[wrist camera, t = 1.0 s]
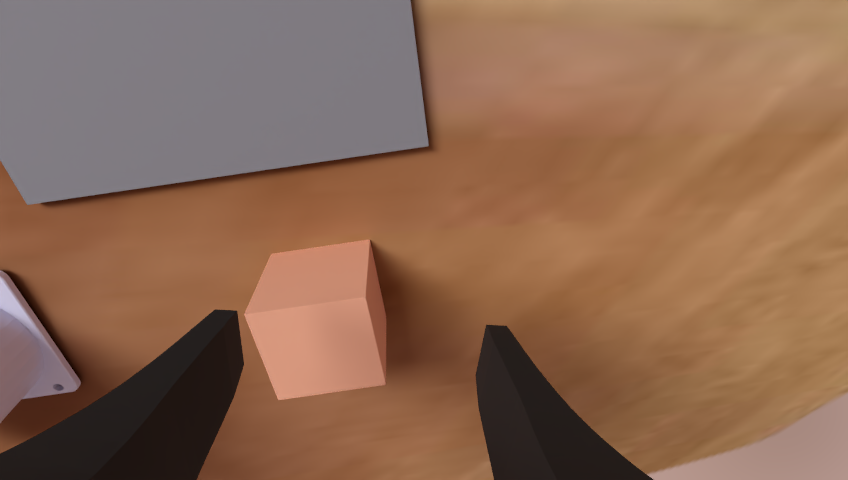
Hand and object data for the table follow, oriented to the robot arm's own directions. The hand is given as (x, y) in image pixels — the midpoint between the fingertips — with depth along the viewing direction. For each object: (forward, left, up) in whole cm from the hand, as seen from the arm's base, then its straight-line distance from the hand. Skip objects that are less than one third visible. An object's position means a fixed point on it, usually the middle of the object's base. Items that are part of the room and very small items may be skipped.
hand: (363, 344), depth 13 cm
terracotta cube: (-3, -4, -10) cm, 11 cm away
